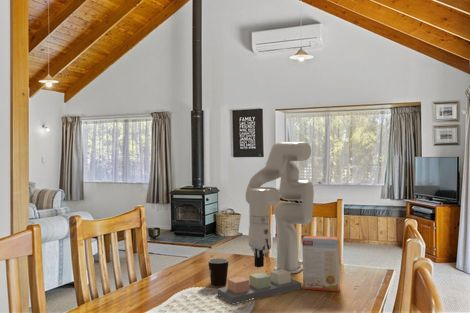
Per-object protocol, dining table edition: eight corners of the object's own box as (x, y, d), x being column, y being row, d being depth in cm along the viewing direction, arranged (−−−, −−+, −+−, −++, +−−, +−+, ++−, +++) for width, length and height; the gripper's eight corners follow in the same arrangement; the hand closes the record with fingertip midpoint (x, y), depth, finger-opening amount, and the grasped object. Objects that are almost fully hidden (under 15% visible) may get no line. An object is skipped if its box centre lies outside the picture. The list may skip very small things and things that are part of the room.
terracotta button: (241, 289, 172) (240, 276, 172) (249, 293, 166) (249, 280, 166) (227, 291, 169) (227, 279, 168) (235, 296, 163) (235, 282, 163)
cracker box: (339, 287, 176) (339, 236, 176) (338, 292, 170) (337, 239, 170) (305, 284, 181) (304, 234, 180) (302, 289, 175) (302, 237, 175)
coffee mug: (226, 287, 178) (226, 263, 178) (206, 286, 180) (205, 262, 180) (232, 279, 190) (232, 256, 190) (213, 278, 191) (212, 256, 191)
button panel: (283, 281, 186) (283, 275, 186) (301, 288, 175) (301, 282, 175) (217, 295, 170) (217, 288, 170) (232, 304, 159) (232, 297, 159)
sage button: (262, 284, 177) (261, 272, 177) (270, 288, 171) (270, 276, 171) (249, 287, 174) (249, 274, 174) (257, 291, 168) (257, 278, 168)
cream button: (282, 280, 182) (281, 268, 182) (290, 284, 177) (290, 272, 176) (270, 283, 179) (270, 271, 179) (278, 287, 173) (278, 274, 173)
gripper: (277, 221, 168) (278, 269, 167) (256, 217, 180) (256, 261, 180) (261, 223, 164) (261, 271, 164) (241, 218, 177) (241, 263, 176)
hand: (259, 266), depth 172 cm, fingers closed
